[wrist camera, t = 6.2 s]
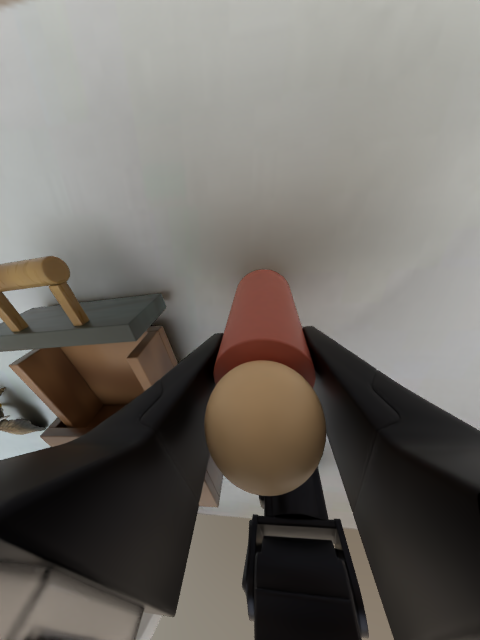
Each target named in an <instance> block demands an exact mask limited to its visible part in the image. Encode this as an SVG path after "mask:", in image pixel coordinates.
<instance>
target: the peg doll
mask: <svg viewBox="0 0 480 640" xmlns="http://www.w3.org/2000/svg"><path fill="white" fill-rule="evenodd" d="M213 376H214V381H215V384H216V386H215V388H214V389H213V391H212V393H211V395H210V398H209V400H208V403H207V406H206V412H205V420H204V428H205V438H206V442H207V446H208V449H209V452H210V455H211V457H212V459H213V461H214V462H215V464H216V466H217V467H218V469H219V470H220V471H221V473H222V474H223V475H224V476H225V477H226V478H227V479H228V480H229V481H230V482H231V483H233V484H234V485H235V486H237V487H239V488H240V489H242V490H244V491H246V492H249V493H252V494H256V495H262V496H277V495H282V494H285V493H287V492H290V491H292V490H294V489H296V488H297V487H299V486H300V485H302V484H303V483H304V482H305V481H306V480H307V479H308V478H309V477H310V476H311V475H312V474H313V472H314V471H315V469H316V468H317V466H318V464H319V462H320V460H321V457H322V455H323V451H324V447H325V442H326V421H325V416H324V412H323V408H322V406H321V403H320V401H319V398H318V396H317V395H316V393H315V391H314V390H313V387H314V384H315V379H316V373H315V368H314V365H313V362H312V358H311V355H310V352H309V349H308V345H307V342H306V339H305V336H304V332H303V329H302V326H301V323H300V319H299V316H298V313H297V310H296V306H295V303H294V300H293V297H292V293H291V290H290V287H289V284H288V283H287V281H286V280H285V278H284V277H283V276H281V275H280V274H279V273H277V272H274V271H272V270H265V269H263V270H256V271H253V272H251V273H249V274H247V275H246V276H245V277H244V278H243V279H242V280H241V281H240V283H239V284H238V287H237V290H236V293H235V297H234V300H233V304H232V307H231V310H230V314H229V317H228V321H227V324H226V328H225V331H224V335H223V338H222V341H221V345H220V348H219V352H218V355H217V359H216V362H215V366H214V371H213Z"/></svg>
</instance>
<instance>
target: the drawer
mask: <svg viewBox="0 0 480 640" xmlns="http://www.w3.org/2000/svg"><path fill="white" fill-rule="evenodd" d="M69 277H70V271H69V268H68V266H67V264H66V263H65V262H64V261H63V260H61V259H60V258H58V257H54V256H47V257H41V258H35V259H29V260H23V261H16V262H10V263H4V264H0V318H1V319H2V320H3V321H4V322H2V323H0V352H3V351H16V350H29V349H33V350H32V351H30V352H29V353H27V354H25V355H24V356H22V357H21V358H19V359H18V360H16V361H15V362H13V363H12V364H10V365H9V367H10V368H11V369H12V370H13V371H14V372H15V373H16V374H17V375H18V376H19V377H20V378H21V379H22V380H23V381H24V382H25V383H26V384H27V386H28V387H29V388H30V389H31V390H32V391H33V392H34V393H35V394H36V395H37V396H38V397H39V398H40V399H41V400H42V401H43V402H44V403H45V404H46V405H47V406H48V407H49V408H50V409H51V411H52V412H53V413H54V414H55V415H56V416H57V417H58V418H59V419H60V420H61V421H62V422H63V423H64V424H65V425H66V426H67V427H68V428H95V427H96V426H97V425H99V424H100V423H102V422H103V421H104V420H106V419H107V418H109V417H110V416H111V415H113V414H114V413H116V412H117V411H118V410H120V409H121V408H123V407H124V406H125V405H127V404H128V403H130V402H131V401H132V400H134V399H135V398H136V397H138V396H139V395H140V394H142V393H143V392H144V391H145V390H147V389H148V388H149V387H151V386H152V385H153V384H154V383H155V382H157V381H158V380H159V379H160V380H161V378H162V377H163V376H164V375H165V374H166V373H168V372H169V371H170V370H171V369H172V368H174V367H175V366H176V365H177V364H178V362H177V360H176V357H175V355H174V353H173V350H172V348H171V345H170V343H169V340H168V338H167V335H166V333H165V330H164V328H163V326H151V324H152V323H153V322H154V321H155V320H156V319H157V318H158V317H159V315H160V314H161V313H162V312H163V311H164V310H165V309H166V305H165V302H164V299H163V297H162V294H151V295H143V296H134V297H126V298H117V299H108V300H100V301H91V302H82V303H79V302H78V300H77V299H76V297H75V295H74V294H73V292H72V290H71V289H70V287H69V285H68V284H67V282H66V281H67V280H68V279H69ZM48 285H51V286H49V289H50V290H51V292H52V293H53V295H54V296H55V298H56V299H57V301H58V302H59V304H60V305H56V306H48V307H39V308H32V309H30V310H28V311H26V312H24V313H21V314H19V313H18V312H17V311H16V309H15V308H14V307H13V305H12V304H11V303H10V302H9V300H8V299H7V298H6V297H5V295H4V294H3V293H2V292H4V291H11V290H19V289H26V288H33V287H41V286H48Z"/></svg>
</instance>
